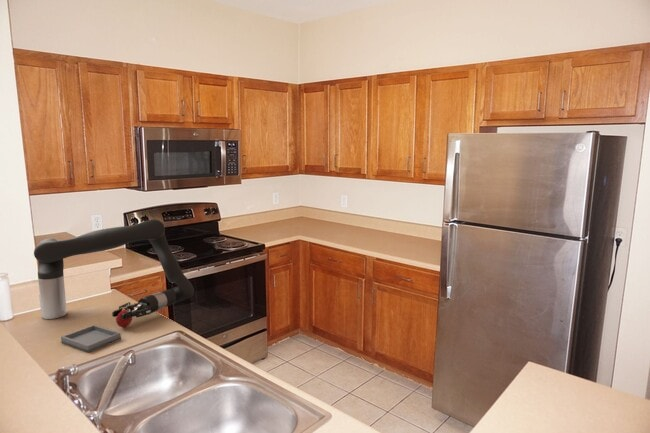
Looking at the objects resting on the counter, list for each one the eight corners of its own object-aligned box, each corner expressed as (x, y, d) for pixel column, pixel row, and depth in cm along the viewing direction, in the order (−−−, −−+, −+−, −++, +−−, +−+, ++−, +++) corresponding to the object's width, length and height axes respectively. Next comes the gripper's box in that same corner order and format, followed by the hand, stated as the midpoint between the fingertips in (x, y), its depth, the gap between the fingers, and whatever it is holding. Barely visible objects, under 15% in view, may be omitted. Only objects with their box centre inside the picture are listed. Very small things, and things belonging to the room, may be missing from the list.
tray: (61, 343, 161) (60, 336, 160) (94, 330, 172) (94, 324, 172) (88, 352, 153) (87, 346, 153) (121, 339, 164) (120, 332, 164)
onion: (126, 331, 171) (125, 312, 170) (113, 330, 173) (111, 311, 171) (135, 325, 177) (134, 306, 176) (122, 324, 178) (121, 305, 177)
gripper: (141, 291, 189) (105, 303, 174) (164, 297, 182) (129, 309, 168) (142, 308, 190) (106, 321, 176) (165, 314, 183) (130, 328, 169)
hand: (118, 315), depth 172 cm, fingers closed on onion, 5 cm apart
